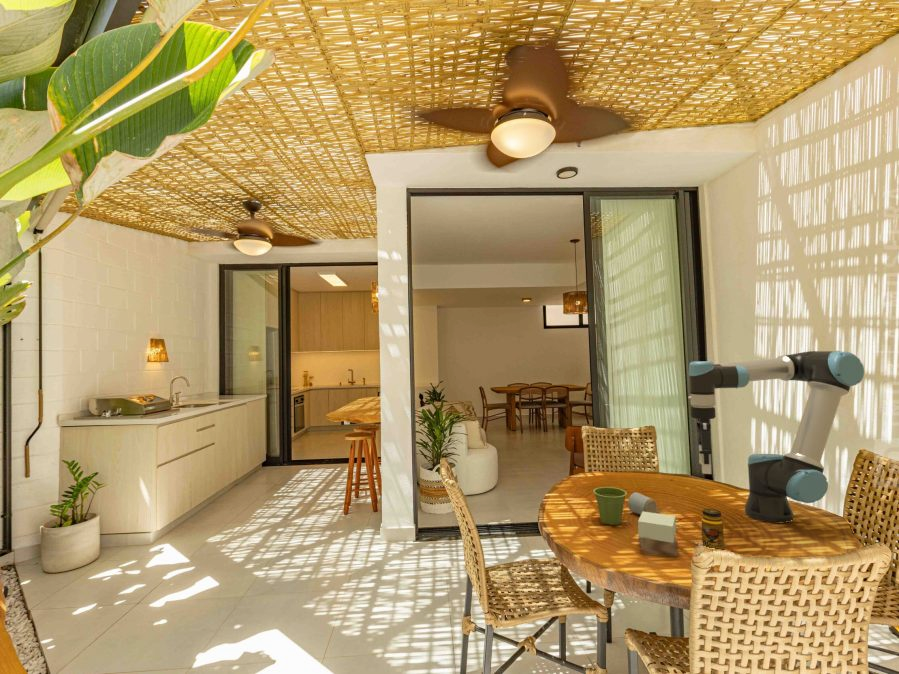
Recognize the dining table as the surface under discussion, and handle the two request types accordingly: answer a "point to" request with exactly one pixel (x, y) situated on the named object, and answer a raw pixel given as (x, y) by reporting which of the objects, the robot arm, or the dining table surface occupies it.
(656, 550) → the walnut block
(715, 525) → the condiment
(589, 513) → the dining table surface
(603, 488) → the plant pot
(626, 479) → the dining table surface
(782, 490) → the robot arm
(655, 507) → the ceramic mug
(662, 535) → the sage block
